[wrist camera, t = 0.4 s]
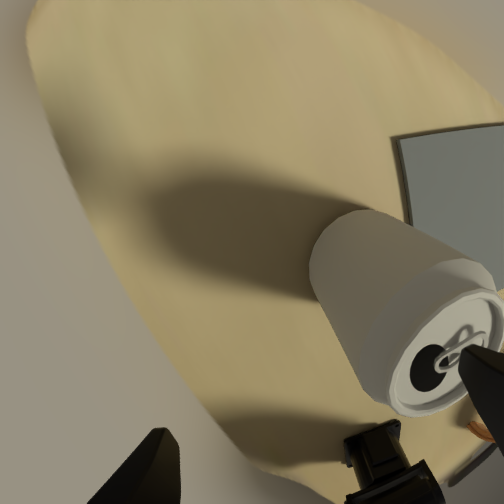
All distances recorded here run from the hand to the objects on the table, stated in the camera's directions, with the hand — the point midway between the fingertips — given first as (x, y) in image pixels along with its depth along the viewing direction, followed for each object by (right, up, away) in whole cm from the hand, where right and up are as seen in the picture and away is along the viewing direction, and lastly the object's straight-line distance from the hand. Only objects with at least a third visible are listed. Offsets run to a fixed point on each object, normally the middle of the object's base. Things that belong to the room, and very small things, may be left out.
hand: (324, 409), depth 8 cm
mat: (+18, +7, +13) cm, 23 cm away
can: (+5, +4, +13) cm, 15 cm away
